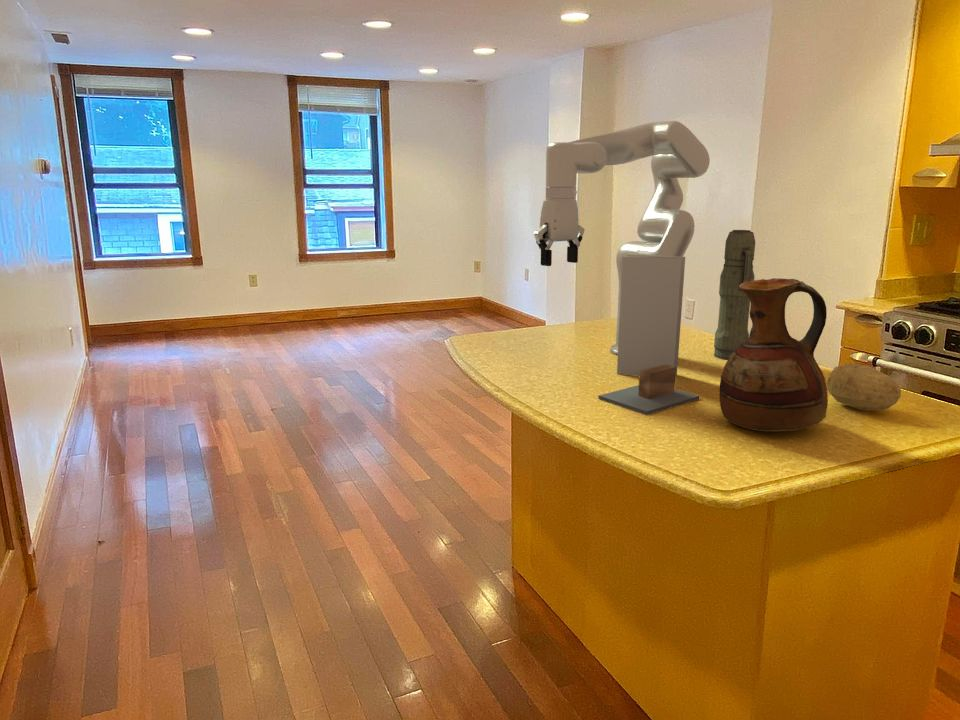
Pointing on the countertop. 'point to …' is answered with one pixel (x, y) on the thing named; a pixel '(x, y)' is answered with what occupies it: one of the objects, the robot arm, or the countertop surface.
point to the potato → (863, 387)
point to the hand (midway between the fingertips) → (559, 263)
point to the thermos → (734, 293)
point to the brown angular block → (657, 381)
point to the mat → (647, 400)
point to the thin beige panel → (650, 312)
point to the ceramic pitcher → (775, 364)
